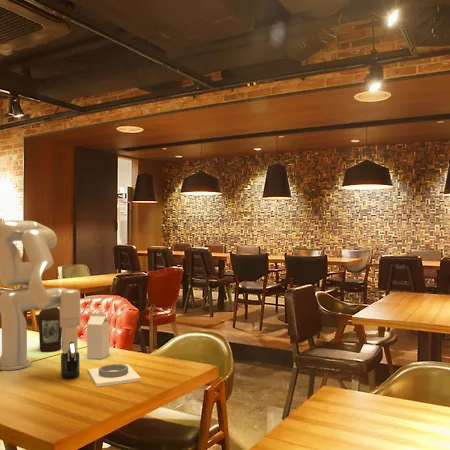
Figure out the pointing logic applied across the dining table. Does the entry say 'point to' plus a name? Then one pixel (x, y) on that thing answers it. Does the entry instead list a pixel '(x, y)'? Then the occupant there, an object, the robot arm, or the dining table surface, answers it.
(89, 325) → the milk carton
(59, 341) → the olive oil
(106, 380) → the dock
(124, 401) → the dining table surface
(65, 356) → the supplement bottle
